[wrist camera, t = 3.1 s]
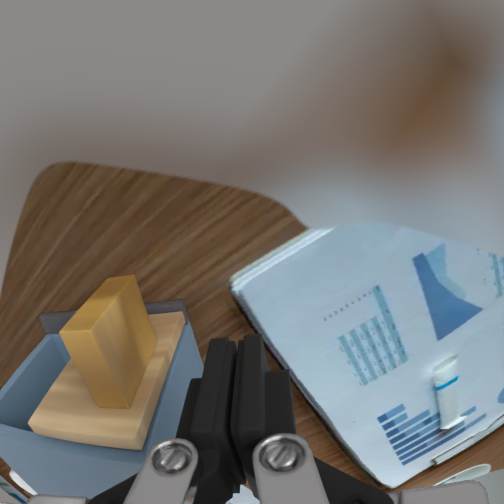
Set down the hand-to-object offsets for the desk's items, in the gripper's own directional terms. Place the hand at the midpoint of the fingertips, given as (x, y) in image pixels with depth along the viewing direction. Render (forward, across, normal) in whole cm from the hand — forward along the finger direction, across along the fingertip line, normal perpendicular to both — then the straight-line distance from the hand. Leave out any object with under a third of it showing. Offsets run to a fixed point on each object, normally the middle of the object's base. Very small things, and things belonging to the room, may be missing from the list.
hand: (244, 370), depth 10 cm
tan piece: (+8, +7, 0) cm, 11 cm away
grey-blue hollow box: (+9, +10, +7) cm, 16 cm away
